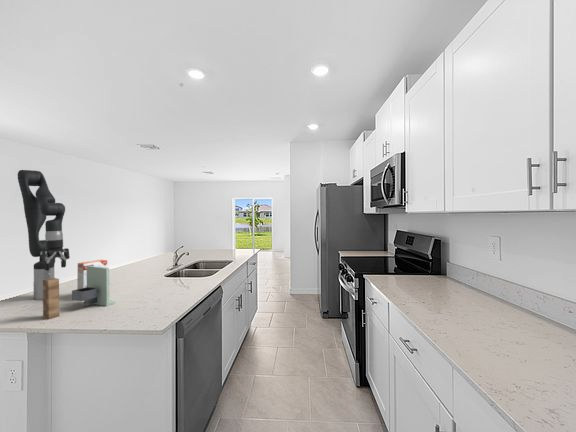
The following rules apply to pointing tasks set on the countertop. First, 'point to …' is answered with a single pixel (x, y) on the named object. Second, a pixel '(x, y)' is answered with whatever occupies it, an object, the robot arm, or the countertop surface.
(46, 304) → the walnut rail
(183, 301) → the countertop surface
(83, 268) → the cracker box
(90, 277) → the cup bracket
